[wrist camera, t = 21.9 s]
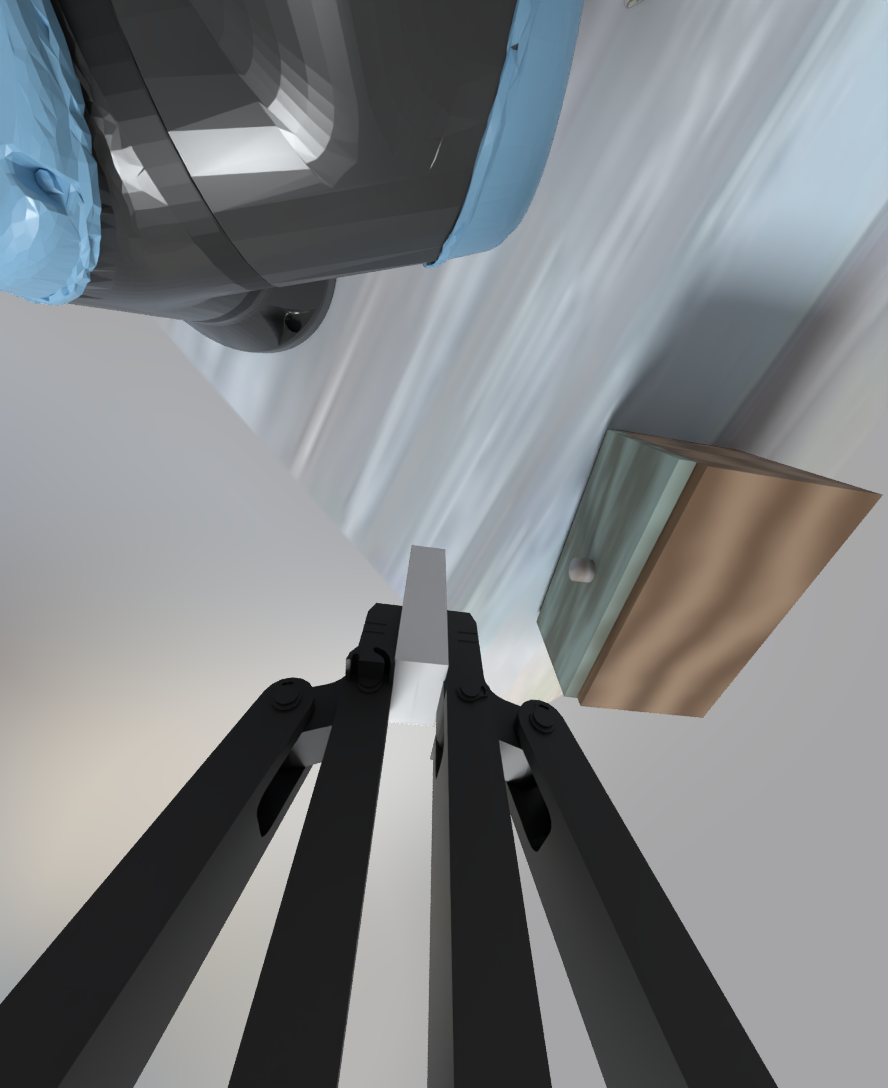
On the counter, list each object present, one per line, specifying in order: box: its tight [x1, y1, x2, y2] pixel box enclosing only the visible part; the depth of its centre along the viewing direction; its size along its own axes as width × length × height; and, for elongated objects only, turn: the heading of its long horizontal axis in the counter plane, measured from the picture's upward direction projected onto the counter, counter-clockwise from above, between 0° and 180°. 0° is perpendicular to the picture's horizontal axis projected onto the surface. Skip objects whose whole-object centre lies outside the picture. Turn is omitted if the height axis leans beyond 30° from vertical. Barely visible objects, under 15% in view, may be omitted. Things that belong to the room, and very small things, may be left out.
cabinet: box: [577, 430, 882, 718], centre depth 37 cm, size 14×26×14 cm, turn 171°
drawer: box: [537, 429, 697, 698], centre depth 37 cm, size 16×26×12 cm, turn 171°
